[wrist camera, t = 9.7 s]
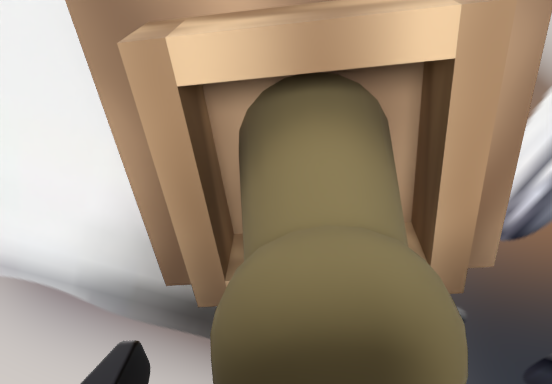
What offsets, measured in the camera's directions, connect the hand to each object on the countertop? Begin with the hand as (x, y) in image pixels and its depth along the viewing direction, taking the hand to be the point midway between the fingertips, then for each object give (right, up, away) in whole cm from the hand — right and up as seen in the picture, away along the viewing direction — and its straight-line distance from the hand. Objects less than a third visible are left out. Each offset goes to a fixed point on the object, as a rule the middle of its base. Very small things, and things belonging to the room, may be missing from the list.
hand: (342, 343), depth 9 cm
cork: (0, +5, +8) cm, 9 cm away
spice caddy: (0, +6, +9) cm, 10 cm away
